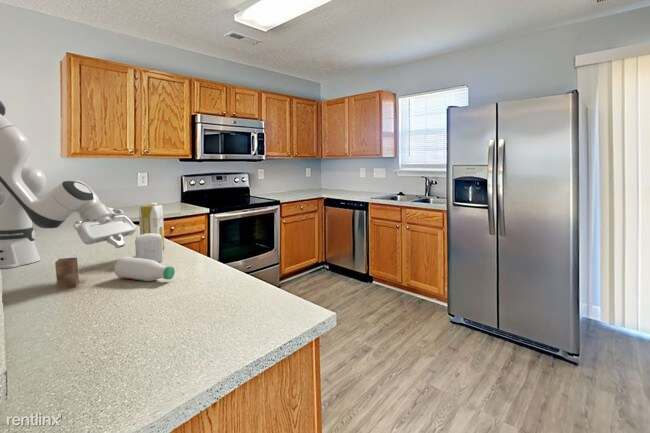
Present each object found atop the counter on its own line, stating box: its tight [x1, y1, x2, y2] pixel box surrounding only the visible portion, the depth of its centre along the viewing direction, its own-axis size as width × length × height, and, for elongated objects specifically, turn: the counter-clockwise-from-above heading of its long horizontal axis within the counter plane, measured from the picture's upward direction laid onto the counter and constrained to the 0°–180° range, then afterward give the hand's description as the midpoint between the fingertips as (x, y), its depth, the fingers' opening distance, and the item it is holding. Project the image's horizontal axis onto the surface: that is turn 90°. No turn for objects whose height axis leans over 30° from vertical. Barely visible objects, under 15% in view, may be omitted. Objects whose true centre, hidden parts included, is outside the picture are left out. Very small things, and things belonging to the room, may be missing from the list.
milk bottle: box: [114, 256, 176, 282], centre depth 126 cm, size 8×8×20 cm
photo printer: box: [134, 233, 164, 263], centre depth 147 cm, size 10×4×12 cm, turn 123°
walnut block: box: [54, 257, 80, 290], centre depth 118 cm, size 5×5×9 cm
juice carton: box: [138, 202, 165, 255], centre depth 156 cm, size 9×8×24 cm
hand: (121, 246), depth 127 cm, fingers closed
